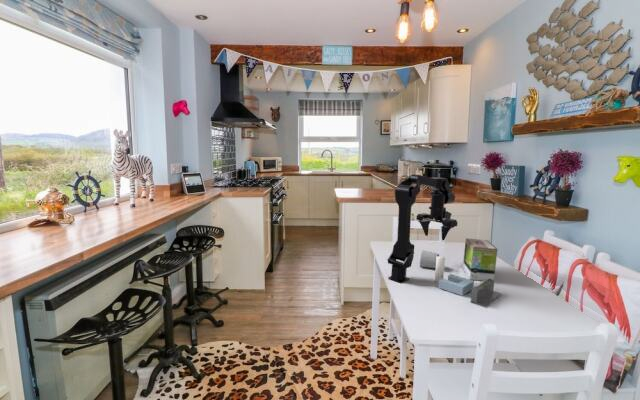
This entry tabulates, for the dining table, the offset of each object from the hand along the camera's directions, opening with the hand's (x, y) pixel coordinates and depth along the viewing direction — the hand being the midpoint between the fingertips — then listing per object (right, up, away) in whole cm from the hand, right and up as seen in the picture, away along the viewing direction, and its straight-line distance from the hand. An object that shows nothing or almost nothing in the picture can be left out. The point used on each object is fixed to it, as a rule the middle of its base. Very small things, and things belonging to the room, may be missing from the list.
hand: (434, 238), depth 159 cm
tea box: (+17, -16, -7) cm, 24 cm away
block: (+1, -18, -23) cm, 29 cm away
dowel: (-3, -16, -15) cm, 22 cm away
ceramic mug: (-2, -14, +3) cm, 14 cm away
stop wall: (+9, -19, -32) cm, 38 cm away
